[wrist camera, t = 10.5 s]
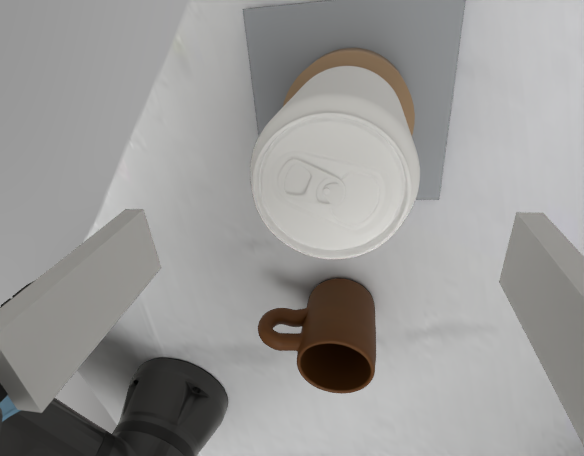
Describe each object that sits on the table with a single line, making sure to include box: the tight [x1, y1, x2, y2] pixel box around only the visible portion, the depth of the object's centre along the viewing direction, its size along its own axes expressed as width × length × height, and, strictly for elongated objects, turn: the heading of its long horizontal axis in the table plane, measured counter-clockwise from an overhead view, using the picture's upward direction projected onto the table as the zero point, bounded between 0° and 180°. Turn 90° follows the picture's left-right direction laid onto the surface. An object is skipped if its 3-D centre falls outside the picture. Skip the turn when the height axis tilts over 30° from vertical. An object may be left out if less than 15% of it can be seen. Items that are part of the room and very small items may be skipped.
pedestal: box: [243, 0, 466, 200], centre depth 29 cm, size 16×16×6 cm
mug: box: [258, 278, 376, 393], centre depth 38 cm, size 12×8×9 cm, turn 75°
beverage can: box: [250, 66, 420, 259], centre depth 21 cm, size 8×8×12 cm
